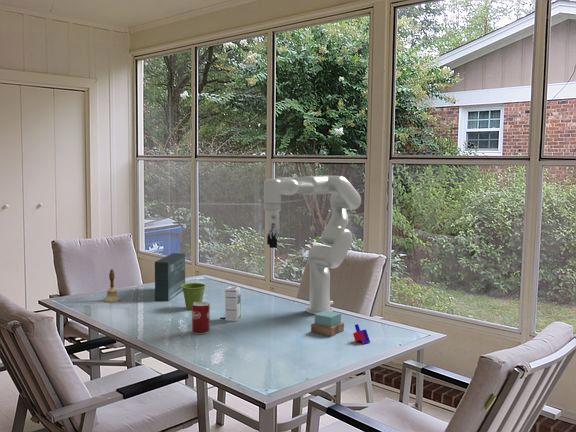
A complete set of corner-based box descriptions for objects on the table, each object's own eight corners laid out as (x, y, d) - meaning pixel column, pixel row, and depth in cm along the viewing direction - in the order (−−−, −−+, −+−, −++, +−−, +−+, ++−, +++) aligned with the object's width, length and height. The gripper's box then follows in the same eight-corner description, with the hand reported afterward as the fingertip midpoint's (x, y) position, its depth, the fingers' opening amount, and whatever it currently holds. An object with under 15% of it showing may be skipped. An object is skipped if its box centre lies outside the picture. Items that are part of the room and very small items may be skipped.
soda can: (195, 335, 240) (195, 306, 239) (189, 330, 246) (189, 302, 245) (212, 333, 243) (212, 304, 242) (206, 328, 250) (206, 301, 248)
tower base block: (323, 328, 254) (323, 319, 254) (343, 332, 248) (343, 322, 248) (310, 333, 246) (311, 324, 245) (331, 337, 240) (331, 328, 240)
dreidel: (363, 344, 235) (356, 325, 237) (370, 342, 232) (363, 322, 234) (357, 346, 233) (350, 326, 235) (364, 343, 230) (357, 323, 232)
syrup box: (237, 321, 261) (237, 289, 260) (224, 320, 262) (224, 288, 261) (241, 318, 267) (241, 286, 265) (228, 317, 268) (228, 286, 267)
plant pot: (176, 309, 281) (176, 286, 279) (189, 304, 291) (189, 282, 290) (198, 312, 276) (197, 288, 275) (210, 306, 287) (210, 284, 286)
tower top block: (324, 319, 252) (324, 310, 252) (340, 322, 248) (341, 313, 247) (314, 323, 246) (314, 314, 245) (331, 327, 241) (331, 317, 241)
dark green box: (173, 288, 327) (172, 253, 325) (185, 289, 326) (185, 253, 324) (155, 301, 298) (154, 262, 296) (168, 301, 297) (168, 262, 296)
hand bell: (124, 300, 299) (123, 269, 298) (111, 303, 292) (110, 271, 291) (113, 297, 304) (112, 267, 302) (100, 301, 297) (99, 269, 295)
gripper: (283, 208, 249) (282, 248, 250) (278, 205, 266) (278, 243, 267) (265, 208, 248) (265, 249, 249) (261, 205, 265) (261, 243, 266)
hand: (272, 246), depth 258 cm, fingers open, 9 cm apart
